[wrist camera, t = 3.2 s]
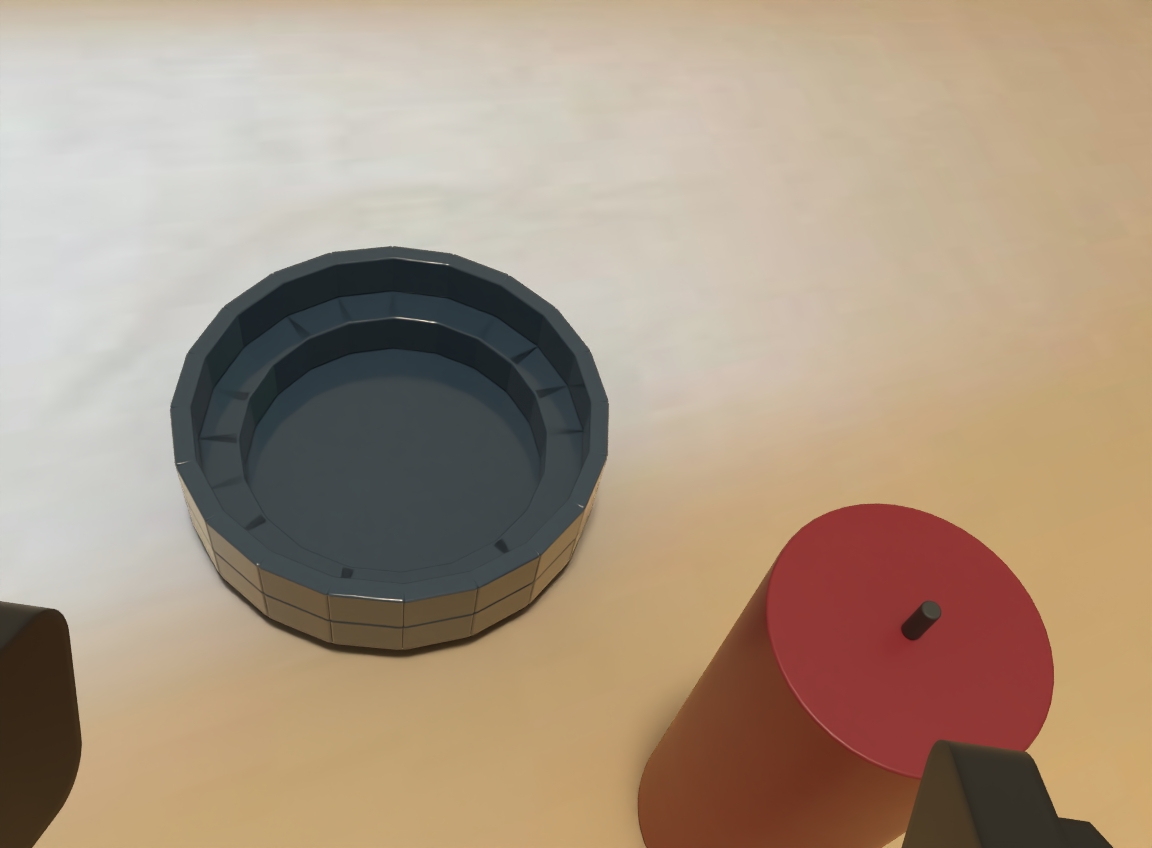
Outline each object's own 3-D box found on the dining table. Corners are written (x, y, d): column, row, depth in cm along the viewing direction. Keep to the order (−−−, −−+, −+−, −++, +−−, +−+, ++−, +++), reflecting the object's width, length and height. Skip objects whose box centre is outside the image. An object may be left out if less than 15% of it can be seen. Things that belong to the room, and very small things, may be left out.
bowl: (128, 406, 36) (102, 331, 33) (465, 276, 42) (472, 201, 39) (302, 737, 31) (293, 686, 28) (664, 538, 36) (691, 476, 33)
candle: (599, 779, 32) (719, 557, 20) (748, 682, 34) (931, 434, 23) (719, 963, 29) (932, 830, 18) (870, 845, 32) (1143, 661, 20)
